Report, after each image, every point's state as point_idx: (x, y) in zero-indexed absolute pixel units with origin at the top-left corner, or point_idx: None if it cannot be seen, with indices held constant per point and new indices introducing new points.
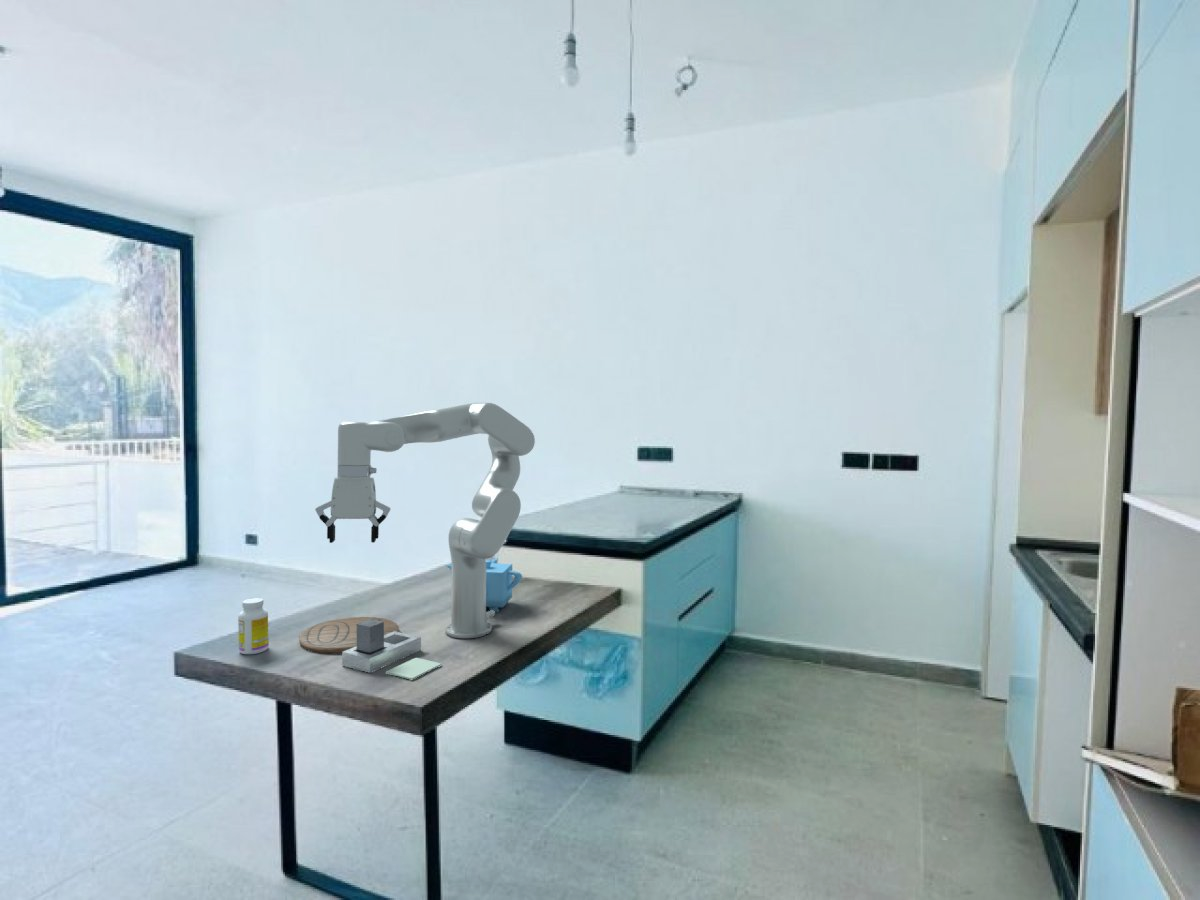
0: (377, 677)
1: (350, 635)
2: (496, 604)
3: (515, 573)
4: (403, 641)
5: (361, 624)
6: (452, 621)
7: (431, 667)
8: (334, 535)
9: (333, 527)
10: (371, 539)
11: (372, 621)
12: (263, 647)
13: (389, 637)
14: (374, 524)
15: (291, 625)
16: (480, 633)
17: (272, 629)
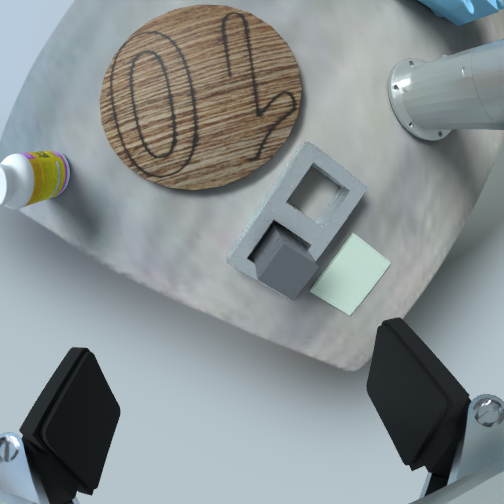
0: (298, 301)
1: (203, 114)
2: (451, 18)
3: (500, 3)
4: (338, 211)
5: (270, 283)
6: (414, 104)
7: (377, 277)
8: (85, 393)
9: (84, 473)
10: (373, 400)
11: (292, 263)
12: (65, 183)
13: (304, 174)
14: (436, 467)
15: (73, 44)
16: (445, 136)
17: (50, 69)
